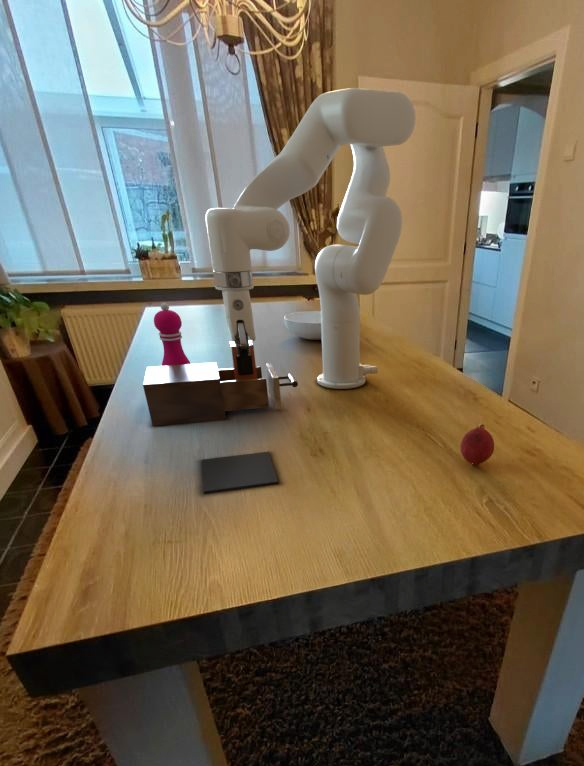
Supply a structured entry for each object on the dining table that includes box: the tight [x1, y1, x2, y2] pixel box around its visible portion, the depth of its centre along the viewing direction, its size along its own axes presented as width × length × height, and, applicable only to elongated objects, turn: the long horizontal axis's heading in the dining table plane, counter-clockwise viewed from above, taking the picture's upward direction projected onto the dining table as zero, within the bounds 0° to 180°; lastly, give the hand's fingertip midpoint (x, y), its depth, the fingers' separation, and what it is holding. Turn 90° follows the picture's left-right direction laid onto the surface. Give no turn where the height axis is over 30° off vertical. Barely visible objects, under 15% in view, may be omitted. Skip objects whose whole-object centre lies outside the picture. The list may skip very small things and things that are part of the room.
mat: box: [201, 451, 279, 494], centre depth 86 cm, size 12×12×1 cm
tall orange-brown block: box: [229, 339, 257, 380], centre depth 108 cm, size 5×5×12 cm
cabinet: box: [142, 361, 226, 427], centre depth 107 cm, size 15×13×9 cm
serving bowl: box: [283, 310, 322, 341], centre depth 168 cm, size 21×21×7 cm
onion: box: [460, 422, 495, 467], centre depth 87 cm, size 6×6×8 cm
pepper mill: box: [153, 302, 192, 366], centre depth 117 cm, size 7×7×20 cm
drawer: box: [218, 362, 299, 412], centre depth 111 cm, size 18×12×7 cm, turn 107°
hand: (244, 370), depth 108 cm, fingers closed on tall orange-brown block, 4 cm apart
